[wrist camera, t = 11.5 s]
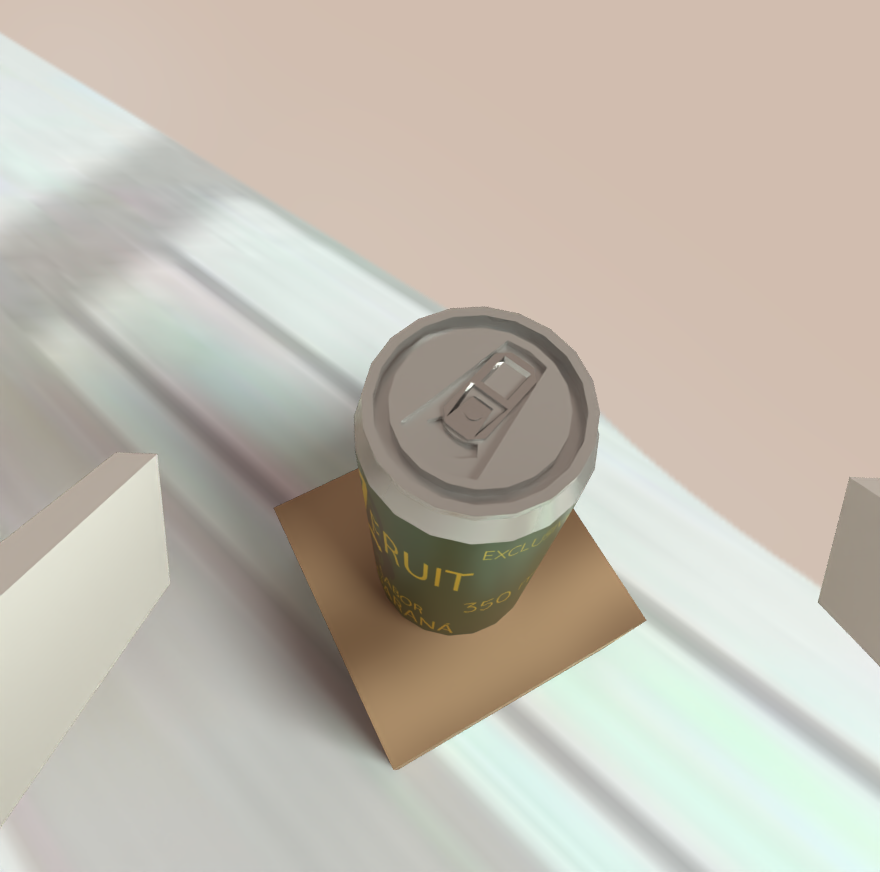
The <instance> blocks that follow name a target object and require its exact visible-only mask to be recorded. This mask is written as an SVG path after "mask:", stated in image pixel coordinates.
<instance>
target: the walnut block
mask: <svg viewBox="0 0 880 872" xmlns="http://www.w3.org/2000/svg"><path fill="white" fill-rule="evenodd" d="M274 510H275V512H276V514H277V516H278V519H279V521H280V523H281V525H282V527H283V529H284V532H285V534H286V536H287V538H288V540H289V543H290V545H291V547H292V549H293V551H294V554H295V556H296V558H297V560H298V562H299V565H300V567H301V569H302V571H303V573H304V575H305V578H306V580H307V582H308V584H309V586H310V589H311V591H312V593H313V595H314V597H315V600H316V602H317V604H318V606H319V608H320V610H321V613H322V615H323V617H324V619H325V621H326V624H327V626H328V628H329V630H330V632H331V635H332V637H333V639H334V641H335V643H336V646H337V648H338V650H339V652H340V654H341V656H342V659H343V661H344V663H345V665H346V667H347V670H348V672H349V674H350V676H351V678H352V681H353V683H354V685H355V687H356V689H357V691H358V694H359V696H360V698H361V700H362V702H363V705H364V707H365V709H366V711H367V713H368V716H369V718H370V720H371V722H372V724H373V727H374V729H375V731H376V733H377V735H378V737H379V740H380V742H381V744H382V746H383V748H384V751H385V753H386V755H387V757H388V759H389V762H390V764H391V766H392V768H393V770H398V769H400V768H402V767H403V766H405V765H407V764H408V763H410V762H412V761H413V760H415V759H417V758H418V757H420V756H422V755H424V754H425V753H427V752H429V751H430V750H432V749H434V748H435V747H437V746H439V745H441V744H442V743H444V742H446V741H447V740H449V739H451V738H452V737H454V736H456V735H457V734H459V733H461V732H463V731H464V730H466V729H468V728H469V727H471V726H473V725H474V724H476V723H478V722H479V721H481V720H483V719H485V718H486V717H488V716H490V715H491V714H493V713H495V712H496V711H498V710H500V709H501V708H503V707H505V706H507V705H508V704H510V703H512V702H513V701H515V700H517V699H518V698H520V697H522V696H523V695H525V694H527V693H529V692H530V691H532V690H534V689H535V688H537V687H539V686H540V685H542V684H544V683H545V682H547V681H549V680H551V679H552V678H554V677H556V676H557V675H559V674H561V673H562V672H564V671H566V670H567V669H569V668H571V667H573V666H574V665H576V664H578V663H579V662H581V661H583V660H584V659H586V658H588V657H589V656H591V655H593V654H595V653H596V652H598V651H600V650H601V649H603V648H605V647H606V646H608V645H609V644H611V643H612V642H614V641H615V640H617V639H619V638H620V637H622V636H623V635H625V634H626V633H628V632H629V631H631V630H632V629H634V628H635V627H637V626H639V625H640V624H642V623H643V622H645V621H646V619H645V617H644V616H643V614H642V613H641V611H640V610H639V608H638V607H637V605H636V604H635V602H634V601H633V599H632V598H631V596H630V594H629V593H628V591H627V590H626V588H625V587H624V585H623V584H622V582H621V581H620V579H619V578H618V576H617V575H616V573H615V572H614V570H613V568H612V567H611V565H610V564H609V562H608V561H607V559H606V558H605V556H604V555H603V553H602V552H601V550H600V549H599V547H598V546H597V544H596V543H595V541H594V539H593V538H592V536H591V535H590V533H589V532H588V530H587V529H586V527H585V526H584V524H583V523H582V521H581V520H580V518H579V517H578V515H577V513H576V512H575V510H574V509H572V511H571V513H570V514H569V516H568V518H567V519H566V521H565V523H564V524H563V526H562V528H561V529H560V531H559V533H558V534H557V536H556V538H555V539H554V541H553V542H552V544H551V546H550V547H549V549H548V551H547V552H546V554H545V556H544V557H543V559H542V561H541V562H540V564H539V566H538V567H537V569H536V571H535V572H534V574H533V576H532V577H531V579H530V581H529V582H528V584H527V586H526V587H525V589H524V591H523V592H522V594H521V596H520V597H519V599H518V601H517V602H516V604H515V606H514V607H513V608H512V609H511V610H510V611H509V612H508V613H507V614H506V615H505V616H503V617H502V618H501V619H500V620H499V621H498V622H497V623H496V624H494V625H491V626H489V627H487V628H485V629H482V630H480V631H478V632H476V633H473V634H462V635H451V636H447V635H443V634H439V633H435V632H431V631H427V630H423V629H422V628H420V627H419V626H417V625H415V624H414V623H412V622H410V621H409V620H407V619H406V618H404V617H403V616H402V615H401V614H400V613H399V612H398V610H397V609H396V608H395V607H394V606H393V604H392V603H391V602H390V601H389V600H388V598H387V596H386V594H385V591H384V589H383V586H382V584H381V581H380V579H379V576H378V571H377V566H376V560H375V555H374V549H373V544H372V539H371V533H370V528H369V522H368V517H367V512H366V506H365V501H364V496H363V490H362V485H361V479H360V474H359V469H356V470H354V471H351V472H349V473H347V474H345V475H343V476H341V477H339V478H336V479H334V480H332V481H330V482H328V483H326V484H324V485H322V486H319V487H317V488H315V489H313V490H311V491H309V492H307V493H304V494H302V495H300V496H298V497H296V498H294V499H292V500H289V501H287V502H285V503H283V504H281V505H279V506H277V507H274Z"/></svg>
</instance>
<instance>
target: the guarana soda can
mask: <svg viewBox="0 0 880 872" xmlns="http://www.w3.org/2000/svg"><path fill="white" fill-rule="evenodd" d="M599 416H600V410H599V406H598V402H597V397H596V392H595V387H594V383H593V380H592V378H591V376H590V375H589V373H588V371H587V370H586V368H585V366H584V365H583V363H582V361H581V360H580V358H579V356H578V355H577V353H576V352H575V351H574V350H573V349H572V348H571V347H570V346H568V344H566V343H565V342H564V341H563V340H562V339H561V338H560V337H559V336H558V335H556V334H555V333H554V332H553V331H552V330H551V329H549V328H547V327H545V326H543V325H541V324H539V323H537V322H535V321H533V320H531V319H529V318H527V317H525V316H523V315H521V314H519V313H514V312H509V311H504V310H499V309H494V308H489V307H470V308H451V309H447V310H444V311H441V312H438V313H435V314H432V315H429V316H426V317H423V318H420V319H418V320H416V321H415V322H413V323H412V324H410V325H409V326H408V327H406V328H405V329H403V330H402V331H400V332H399V333H397V334H396V335H394V336H393V337H392V338H391V339H390V340H389V341H388V342H387V344H386V345H385V346H384V348H383V349H382V350H381V352H380V353H379V354H378V356H377V357H376V358H375V359H374V361H373V362H372V363H371V366H370V369H369V372H368V375H367V378H366V381H365V384H364V387H363V390H362V393H361V397H360V400H359V403H358V406H357V409H356V412H355V415H354V430H355V452H356V458H357V463H358V469H359V474H360V479H361V485H362V490H363V496H364V501H365V506H366V512H367V517H368V522H369V528H370V533H371V539H372V544H373V549H374V555H375V560H376V566H377V571H378V576H379V579H380V581H381V584H382V586H383V589H384V591H385V594H386V596H387V598H388V600H389V601H390V602H391V603H392V604H393V606H394V607H395V608H396V609H397V610H398V612H399V613H400V614H401V615H402V616H403V617H404V618H406V619H407V620H409V621H410V622H412V623H414V624H415V625H417V626H419V627H420V628H422V629H423V630H427V631H431V632H435V633H439V634H443V635H447V636H451V635H462V634H473V633H476V632H478V631H480V630H482V629H485V628H487V627H489V626H491V625H494V624H496V623H497V622H498V621H499V620H500V619H501V618H502V617H503V616H505V615H506V614H507V613H508V612H509V611H510V610H511V609H512V608H513V607H514V606H515V604H516V602H517V601H518V599H519V597H520V596H521V594H522V592H523V591H524V589H525V587H526V586H527V584H528V582H529V581H530V579H531V577H532V576H533V574H534V572H535V571H536V569H537V567H538V566H539V564H540V562H541V561H542V559H543V557H544V556H545V554H546V552H547V551H548V549H549V547H550V546H551V544H552V542H553V541H554V539H555V538H556V536H557V534H558V533H559V531H560V529H561V528H562V526H563V524H564V523H565V521H566V519H567V518H568V516H569V514H570V513H571V511H572V509H573V508H574V506H575V504H576V503H577V501H578V499H579V497H580V495H581V494H582V492H583V490H584V488H585V486H586V484H587V482H588V481H589V479H590V477H591V475H592V473H593V471H594V469H595V462H596V455H597V448H598V440H599V432H598V423H599Z"/></svg>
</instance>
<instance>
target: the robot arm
mask: <svg viewBox="0 0 880 872" xmlns="http://www.w3.org/2000/svg"><path fill="white" fill-rule="evenodd" d="M169 584H170V575H169V565H168V555H167V545H166V535H165V525H164V516H163V506H162V496H161V486H160V476H159V466H158V456H157V454H147V453H117V452H116V453H115V454H113V455H112V456H111V457H109V458H108V459H107V460H106V461H104V462H103V463H102V464H101V465H99V466H98V467H97V468H95V469H94V470H93V471H92V472H90V473H89V474H88V475H87V476H85V477H84V478H83V479H81V480H80V481H79V482H78V483H76V484H75V485H74V486H72V487H71V488H70V489H69V490H67V491H66V492H65V493H64V494H62V495H61V496H60V497H58V498H57V499H56V500H55V501H53V502H52V503H51V504H50V505H48V506H47V507H46V508H44V509H43V510H42V511H41V512H39V513H38V514H37V515H35V516H34V517H33V518H32V519H30V520H29V521H28V522H27V523H25V524H24V525H23V526H21V527H20V528H19V529H18V530H16V531H15V532H14V533H13V534H11V535H10V536H9V537H7V538H6V539H5V540H4V541H2V542H1V543H0V828H1V827H2V825H3V824H4V822H5V821H6V819H7V818H8V816H9V815H10V814H11V812H12V811H13V809H14V808H15V806H16V805H17V803H18V802H19V801H20V799H21V798H22V796H23V795H24V793H25V792H26V790H27V789H28V788H29V786H30V785H31V783H32V782H33V780H34V779H35V777H36V776H37V775H38V773H39V772H40V770H41V769H42V767H43V766H44V764H45V763H46V762H47V760H48V759H49V757H50V756H51V754H52V753H53V752H54V750H55V749H56V747H57V746H58V744H59V743H60V741H61V740H62V739H63V737H64V736H65V734H66V733H67V731H68V730H69V728H70V727H71V726H72V724H73V723H74V721H75V720H76V718H77V717H78V715H79V714H80V713H81V711H82V710H83V708H84V707H85V705H86V704H87V702H88V701H89V700H90V698H91V697H92V695H93V694H94V692H95V691H96V689H97V688H98V687H99V685H100V684H101V682H102V681H103V679H104V678H105V676H106V675H107V674H108V672H109V671H110V669H111V668H112V666H113V665H114V664H115V662H116V661H117V659H118V658H119V656H120V655H121V653H122V652H123V651H124V649H125V648H126V646H127V645H128V643H129V642H130V640H131V639H132V638H133V636H134V635H135V633H136V632H137V630H138V629H139V627H140V626H141V625H142V623H143V622H144V620H145V619H146V617H147V616H148V614H149V613H150V612H151V610H152V609H153V607H154V606H155V604H156V603H157V601H158V600H159V599H160V597H161V596H162V594H163V593H164V591H165V590H166V588H167V587H168V586H169ZM818 603H819V604H820V605H821V606H822V607H823V608H824V609H825V610H826V611H827V612H828V613H829V614H830V615H831V616H832V617H833V618H834V620H835V621H836V622H837V623H838V624H839V625H840V626H841V627H842V628H843V629H844V630H845V631H846V632H847V633H848V634H849V635H850V636H851V637H852V638H853V639H854V640H855V641H856V642H857V643H858V644H859V645H860V646H861V647H862V649H863V650H864V651H865V652H866V653H867V654H868V655H869V656H870V657H871V658H872V659H873V660H874V661H875V662H876V663H877V664H878V665H879V666H880V478H856V477H854V478H853V477H850V478H849V481H848V486H847V489H846V493H845V497H844V501H843V505H842V509H841V513H840V517H839V521H838V525H837V529H836V533H835V537H834V541H833V544H832V549H831V553H830V556H829V560H828V564H827V568H826V573H825V576H824V580H823V584H822V588H821V592H820V596H819V600H818Z"/></svg>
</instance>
